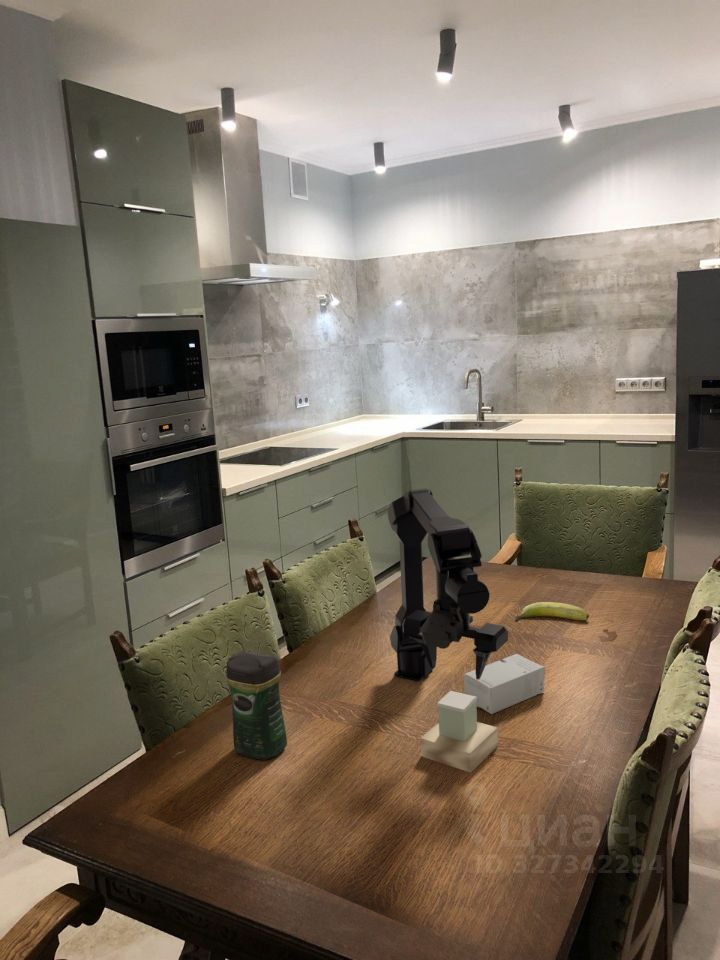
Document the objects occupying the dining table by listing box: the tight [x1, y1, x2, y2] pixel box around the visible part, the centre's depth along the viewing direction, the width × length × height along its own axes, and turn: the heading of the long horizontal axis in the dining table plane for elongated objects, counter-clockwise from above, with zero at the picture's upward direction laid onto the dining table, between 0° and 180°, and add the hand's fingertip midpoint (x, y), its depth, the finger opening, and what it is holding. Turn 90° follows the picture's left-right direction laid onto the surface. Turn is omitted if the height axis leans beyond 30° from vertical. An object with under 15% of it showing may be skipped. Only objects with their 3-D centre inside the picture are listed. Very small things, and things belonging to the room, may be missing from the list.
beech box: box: [420, 721, 499, 773], centre depth 139 cm, size 10×10×4 cm
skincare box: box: [463, 653, 546, 715], centre depth 157 cm, size 8×6×15 cm
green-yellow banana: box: [511, 599, 618, 643], centre depth 197 cm, size 35×27×4 cm
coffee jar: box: [225, 650, 288, 760], centre depth 143 cm, size 10×8×19 cm
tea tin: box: [436, 690, 478, 742], centre depth 138 cm, size 5×5×6 cm
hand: (455, 673), depth 142 cm, fingers open, 9 cm apart
